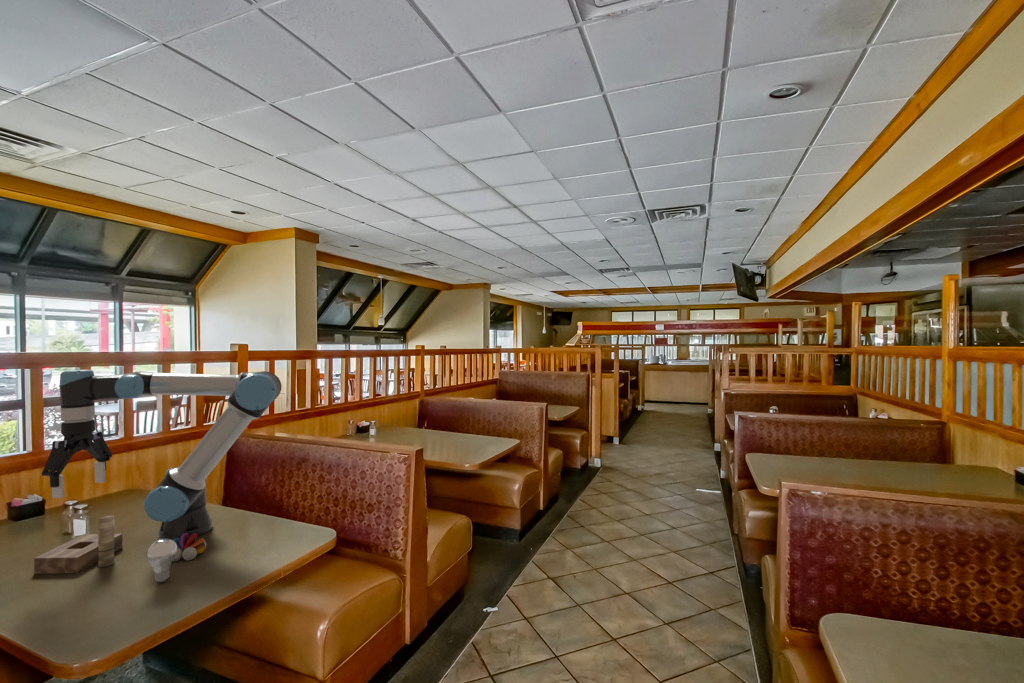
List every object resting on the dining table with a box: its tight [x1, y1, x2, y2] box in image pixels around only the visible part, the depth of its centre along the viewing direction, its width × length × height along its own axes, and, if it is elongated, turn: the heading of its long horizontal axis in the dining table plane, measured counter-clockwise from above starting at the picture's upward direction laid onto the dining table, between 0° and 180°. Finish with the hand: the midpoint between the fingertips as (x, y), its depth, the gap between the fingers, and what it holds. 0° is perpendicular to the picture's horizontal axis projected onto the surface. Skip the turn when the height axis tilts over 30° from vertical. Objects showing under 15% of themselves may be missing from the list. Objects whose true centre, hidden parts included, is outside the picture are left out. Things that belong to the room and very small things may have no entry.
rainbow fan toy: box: [172, 533, 207, 562], centre depth 141 cm, size 8×10×7 cm
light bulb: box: [145, 538, 178, 584], centre depth 126 cm, size 7×7×12 cm
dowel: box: [97, 515, 115, 568], centre depth 136 cm, size 4×4×14 cm
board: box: [33, 533, 123, 575], centre depth 139 cm, size 12×16×4 cm
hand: (80, 489), depth 138 cm, fingers open, 13 cm apart
